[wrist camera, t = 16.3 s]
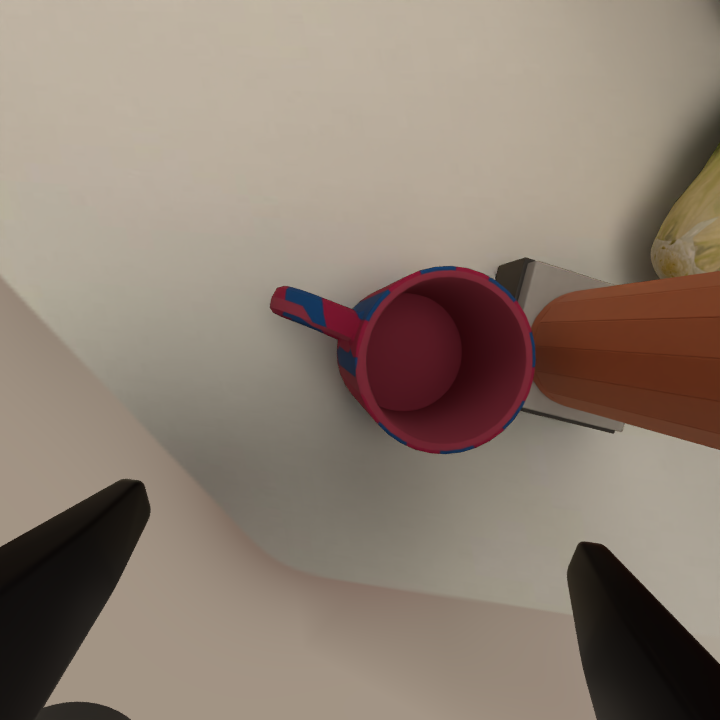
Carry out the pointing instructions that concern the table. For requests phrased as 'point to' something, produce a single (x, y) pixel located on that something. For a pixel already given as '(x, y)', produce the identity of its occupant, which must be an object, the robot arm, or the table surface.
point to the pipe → (637, 354)
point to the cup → (429, 355)
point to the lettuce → (692, 228)
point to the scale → (533, 292)
